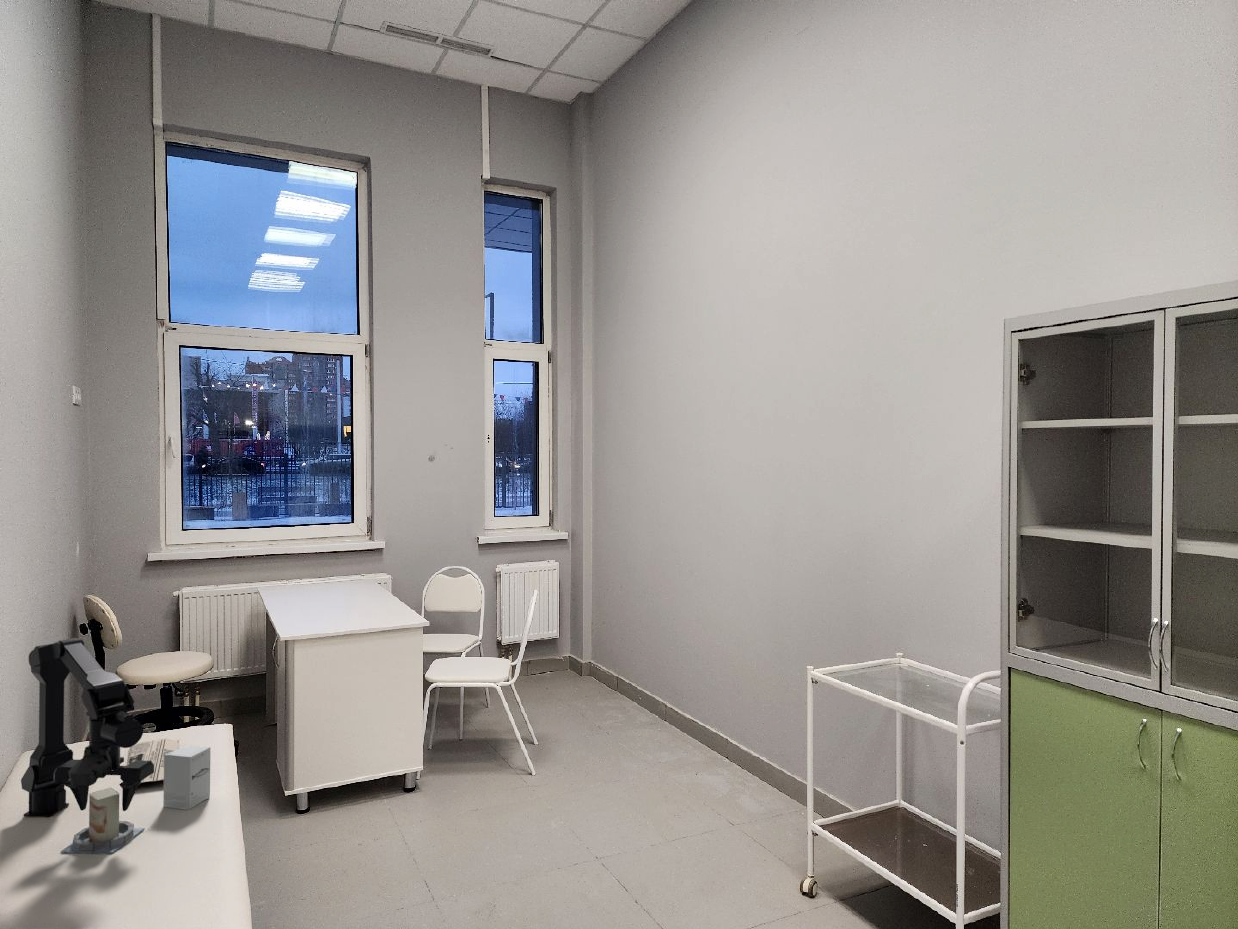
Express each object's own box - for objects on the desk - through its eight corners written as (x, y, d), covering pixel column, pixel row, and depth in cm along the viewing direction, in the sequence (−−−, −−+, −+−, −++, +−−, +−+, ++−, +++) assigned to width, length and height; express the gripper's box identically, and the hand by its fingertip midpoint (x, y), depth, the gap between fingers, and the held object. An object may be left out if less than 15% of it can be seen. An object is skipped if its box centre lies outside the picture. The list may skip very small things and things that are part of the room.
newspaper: (129, 751, 227) (129, 739, 227) (179, 744, 233) (179, 732, 233) (123, 797, 197) (123, 782, 197) (180, 787, 203) (180, 773, 203)
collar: (60, 853, 167) (60, 844, 167) (95, 829, 178) (96, 820, 178) (112, 854, 167) (112, 845, 167) (144, 830, 178) (144, 821, 178)
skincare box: (87, 839, 172) (88, 793, 172) (110, 832, 176) (111, 786, 176) (96, 846, 169) (97, 799, 169) (119, 839, 173) (120, 793, 173)
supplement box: (189, 810, 188) (189, 757, 188) (162, 807, 190) (162, 754, 190) (211, 797, 195) (211, 746, 195) (185, 795, 197) (185, 744, 197)
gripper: (34, 751, 165) (34, 826, 165) (123, 752, 164) (123, 827, 164) (72, 733, 176) (71, 803, 176) (155, 734, 175) (155, 804, 175)
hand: (104, 810), depth 173 cm, fingers open, 9 cm apart
